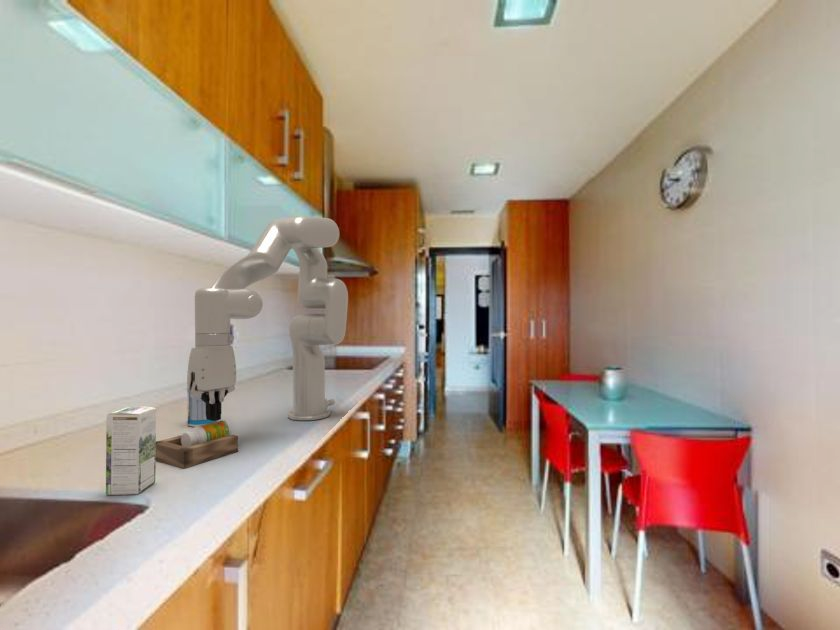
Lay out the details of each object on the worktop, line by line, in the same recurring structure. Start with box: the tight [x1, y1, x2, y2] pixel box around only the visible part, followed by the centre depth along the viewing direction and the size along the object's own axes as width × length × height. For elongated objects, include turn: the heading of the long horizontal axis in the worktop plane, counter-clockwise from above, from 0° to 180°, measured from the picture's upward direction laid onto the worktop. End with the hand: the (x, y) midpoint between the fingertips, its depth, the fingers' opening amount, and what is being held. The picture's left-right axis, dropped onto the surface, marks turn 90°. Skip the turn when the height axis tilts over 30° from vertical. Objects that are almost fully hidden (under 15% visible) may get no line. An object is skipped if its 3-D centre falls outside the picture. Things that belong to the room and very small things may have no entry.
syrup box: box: [105, 406, 157, 496], centre depth 81 cm, size 6×6×14 cm
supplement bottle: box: [181, 420, 232, 447], centre depth 103 cm, size 5×5×10 cm
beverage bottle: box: [186, 387, 220, 428], centre depth 129 cm, size 8×8×20 cm
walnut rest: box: [156, 434, 239, 470], centre depth 100 cm, size 13×12×4 cm
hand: (213, 419), depth 104 cm, fingers closed
